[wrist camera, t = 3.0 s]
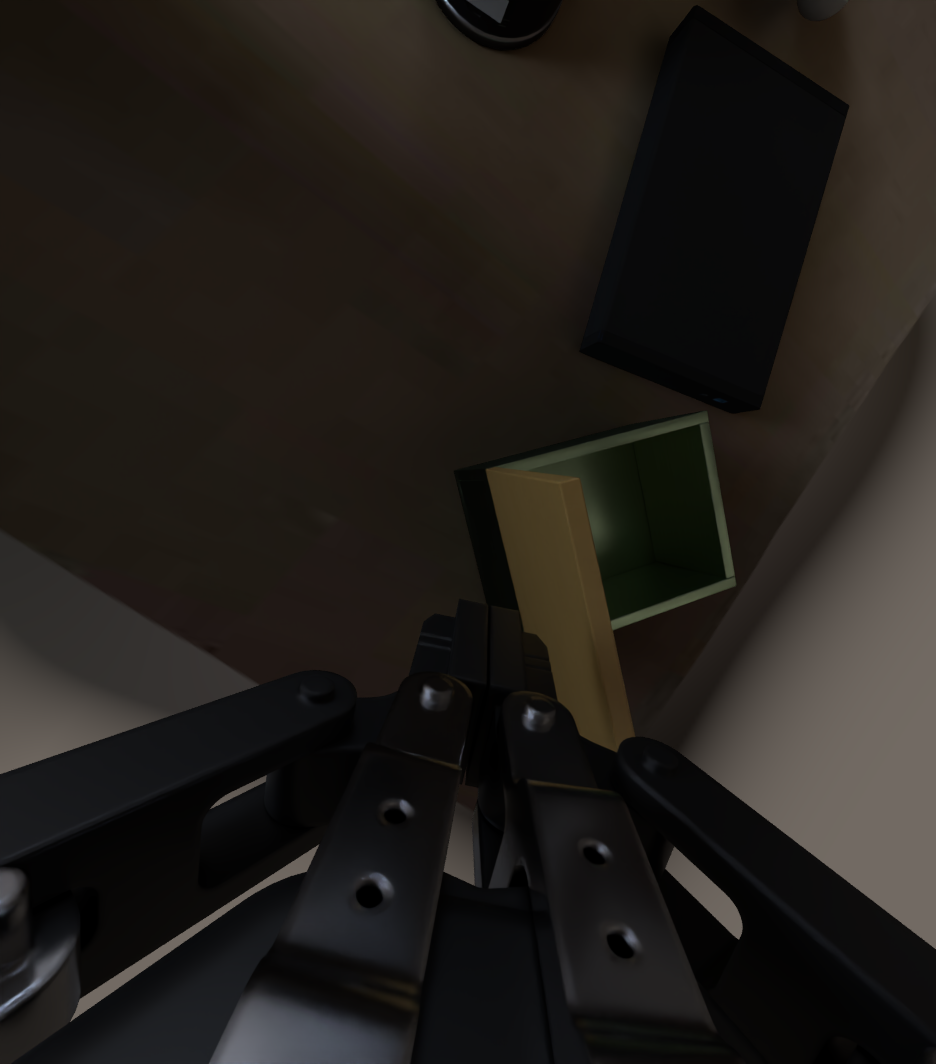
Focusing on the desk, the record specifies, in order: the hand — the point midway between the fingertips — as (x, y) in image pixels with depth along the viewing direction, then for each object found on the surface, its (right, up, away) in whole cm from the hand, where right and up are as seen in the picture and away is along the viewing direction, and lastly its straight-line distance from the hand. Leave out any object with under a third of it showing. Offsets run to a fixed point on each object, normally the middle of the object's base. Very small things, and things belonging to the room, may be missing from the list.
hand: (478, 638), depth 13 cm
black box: (+7, +3, +26) cm, 27 cm away
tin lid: (+3, 0, +9) cm, 10 cm away
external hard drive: (+17, +25, +27) cm, 41 cm away
